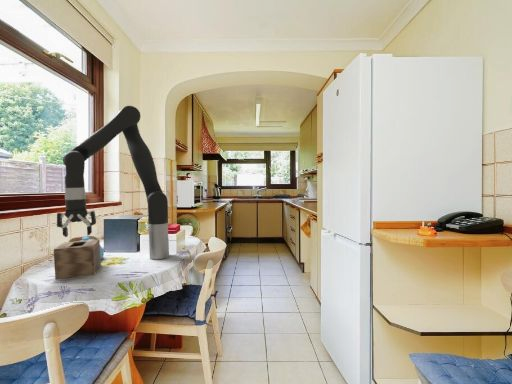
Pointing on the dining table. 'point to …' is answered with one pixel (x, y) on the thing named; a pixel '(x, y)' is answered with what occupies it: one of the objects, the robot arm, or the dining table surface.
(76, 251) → the money box
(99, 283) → the dining table surface
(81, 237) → the tin
